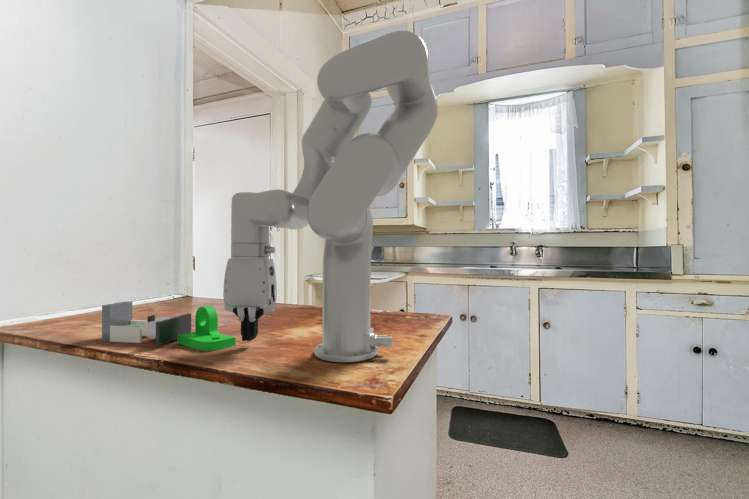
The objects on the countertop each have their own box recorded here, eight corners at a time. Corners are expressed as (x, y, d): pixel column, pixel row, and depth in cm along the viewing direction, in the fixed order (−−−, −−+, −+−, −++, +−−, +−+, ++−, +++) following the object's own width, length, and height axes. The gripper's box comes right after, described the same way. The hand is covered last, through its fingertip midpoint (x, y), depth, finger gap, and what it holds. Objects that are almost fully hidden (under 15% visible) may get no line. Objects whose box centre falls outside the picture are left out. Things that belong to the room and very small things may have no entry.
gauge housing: (160, 336, 82) (160, 302, 82) (139, 342, 76) (139, 306, 76) (124, 334, 83) (124, 301, 83) (101, 341, 77) (102, 305, 77)
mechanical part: (177, 344, 75) (177, 307, 75) (203, 338, 80) (203, 304, 80) (208, 353, 69) (208, 313, 69) (235, 346, 74) (235, 309, 74)
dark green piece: (191, 333, 81) (191, 311, 81) (159, 345, 71) (159, 319, 71) (165, 332, 82) (165, 310, 82) (130, 343, 72) (130, 318, 72)
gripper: (291, 252, 75) (290, 336, 75) (227, 251, 77) (226, 333, 77) (276, 252, 67) (275, 346, 68) (206, 251, 69) (205, 342, 69)
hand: (249, 339), depth 72 cm, fingers closed
